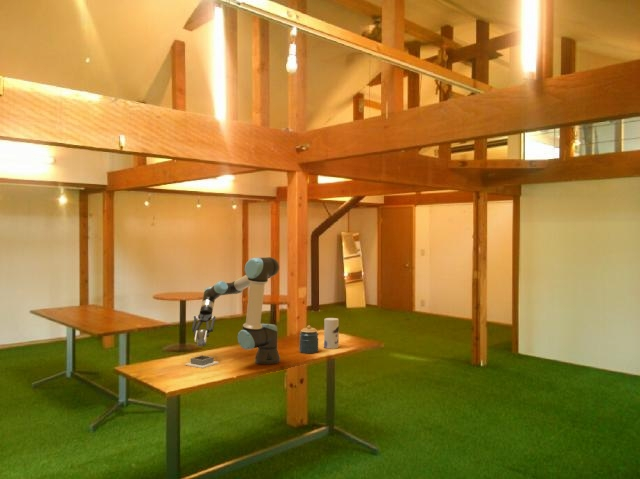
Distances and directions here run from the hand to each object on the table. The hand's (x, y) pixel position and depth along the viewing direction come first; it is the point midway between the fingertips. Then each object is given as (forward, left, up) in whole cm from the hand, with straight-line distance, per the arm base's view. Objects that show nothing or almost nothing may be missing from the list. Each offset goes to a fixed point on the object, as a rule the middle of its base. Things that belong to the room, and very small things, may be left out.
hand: (200, 340), depth 283 cm
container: (-44, -83, -15) cm, 95 cm away
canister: (-37, -64, -15) cm, 75 cm away
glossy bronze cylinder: (+2, -3, -3) cm, 5 cm away
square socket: (+1, -3, -15) cm, 15 cm away
